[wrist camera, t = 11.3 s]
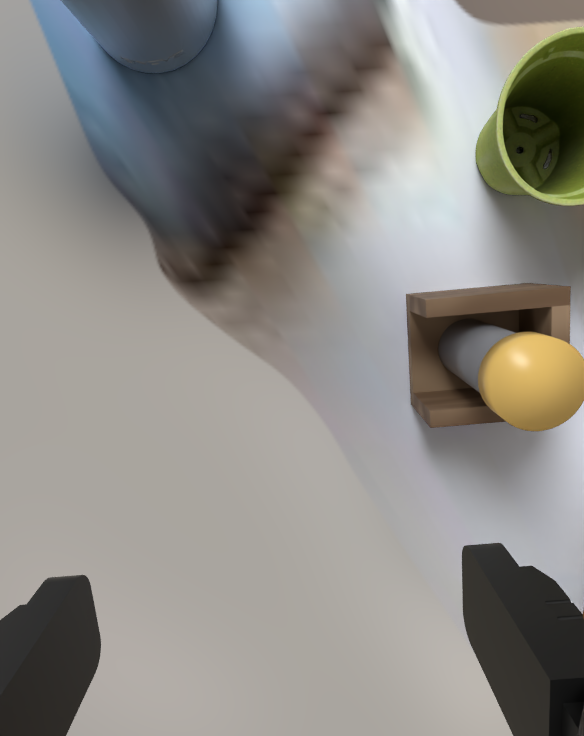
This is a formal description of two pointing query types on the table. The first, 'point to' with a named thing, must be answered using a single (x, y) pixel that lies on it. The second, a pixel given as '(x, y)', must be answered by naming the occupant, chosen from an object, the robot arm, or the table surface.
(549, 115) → the plant pot
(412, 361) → the end holder
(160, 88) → the table surface
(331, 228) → the table surface
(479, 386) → the connector plug
